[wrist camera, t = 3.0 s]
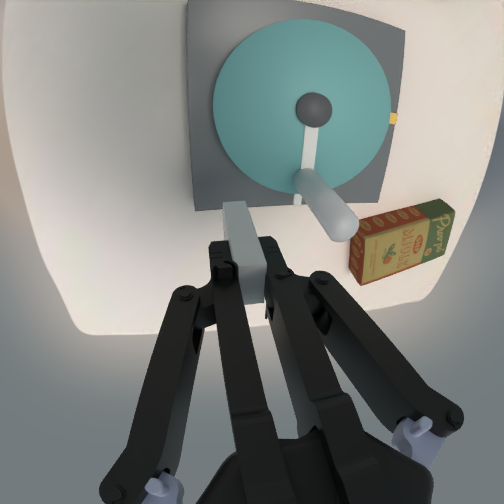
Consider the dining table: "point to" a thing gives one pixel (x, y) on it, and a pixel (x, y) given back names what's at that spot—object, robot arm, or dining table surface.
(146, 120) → the dining table surface
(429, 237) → the carton
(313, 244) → the dining table surface
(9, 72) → the dining table surface
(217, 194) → the base plate
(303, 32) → the dial
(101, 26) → the dining table surface
